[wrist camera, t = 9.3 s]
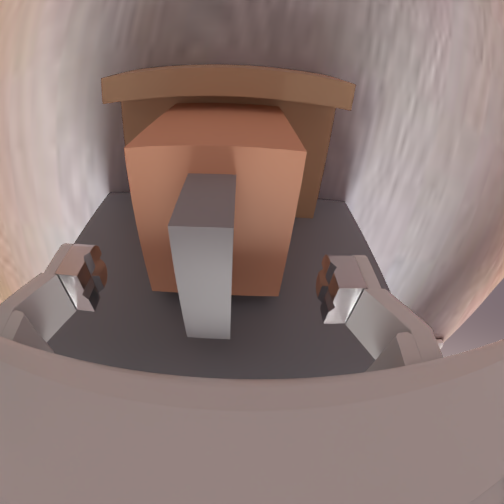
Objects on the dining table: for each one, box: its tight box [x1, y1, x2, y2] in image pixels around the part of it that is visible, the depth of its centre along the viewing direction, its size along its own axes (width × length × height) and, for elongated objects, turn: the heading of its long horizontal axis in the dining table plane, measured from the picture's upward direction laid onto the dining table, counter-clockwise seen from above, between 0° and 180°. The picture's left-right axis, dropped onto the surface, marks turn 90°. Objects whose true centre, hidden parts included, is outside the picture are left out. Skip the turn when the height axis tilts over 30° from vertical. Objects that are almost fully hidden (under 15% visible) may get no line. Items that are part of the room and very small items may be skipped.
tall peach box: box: [124, 103, 307, 339], centre depth 12 cm, size 6×7×11 cm
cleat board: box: [47, 64, 390, 379], centre depth 14 cm, size 20×16×16 cm
